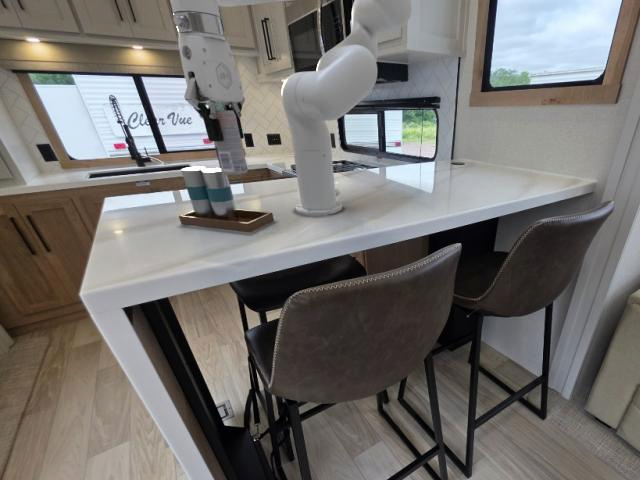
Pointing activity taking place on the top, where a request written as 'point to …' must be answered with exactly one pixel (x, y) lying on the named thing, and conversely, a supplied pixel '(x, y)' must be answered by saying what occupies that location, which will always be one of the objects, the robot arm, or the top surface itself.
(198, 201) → the can
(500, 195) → the top surface
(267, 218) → the drinks tray
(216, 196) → the can
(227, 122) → the energy drink
